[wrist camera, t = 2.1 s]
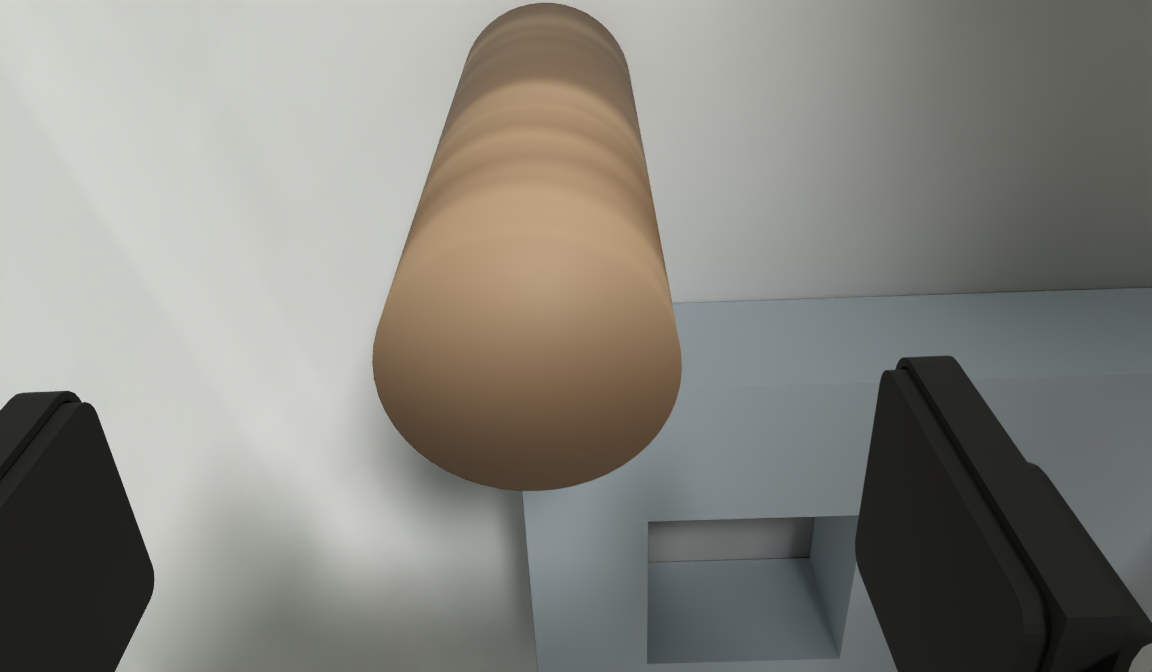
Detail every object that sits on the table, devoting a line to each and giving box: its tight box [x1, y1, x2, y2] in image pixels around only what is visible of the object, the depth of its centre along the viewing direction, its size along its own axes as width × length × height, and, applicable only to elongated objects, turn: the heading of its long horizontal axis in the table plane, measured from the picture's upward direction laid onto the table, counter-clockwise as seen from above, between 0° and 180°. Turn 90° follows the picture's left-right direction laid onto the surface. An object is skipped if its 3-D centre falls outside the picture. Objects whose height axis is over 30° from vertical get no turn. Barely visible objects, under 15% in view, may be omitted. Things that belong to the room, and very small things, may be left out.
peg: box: [372, 3, 682, 491], centre depth 17 cm, size 4×4×12 cm
